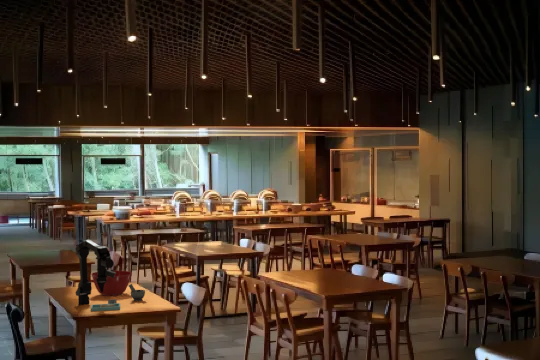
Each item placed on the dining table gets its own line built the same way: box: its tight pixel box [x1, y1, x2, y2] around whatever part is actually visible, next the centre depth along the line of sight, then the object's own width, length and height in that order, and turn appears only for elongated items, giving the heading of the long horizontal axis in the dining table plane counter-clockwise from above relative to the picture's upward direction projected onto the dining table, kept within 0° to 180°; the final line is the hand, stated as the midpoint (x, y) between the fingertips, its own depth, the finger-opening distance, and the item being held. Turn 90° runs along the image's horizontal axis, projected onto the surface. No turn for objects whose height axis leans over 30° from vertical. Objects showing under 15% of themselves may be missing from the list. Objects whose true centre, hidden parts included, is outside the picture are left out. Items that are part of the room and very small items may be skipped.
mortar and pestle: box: [128, 283, 146, 302], centre depth 481 cm, size 11×9×12 cm
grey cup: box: [107, 298, 118, 304], centre depth 464 cm, size 5×5×4 cm
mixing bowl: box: [90, 270, 133, 297], centre depth 508 cm, size 28×28×16 cm
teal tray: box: [90, 302, 121, 312], centre depth 454 cm, size 18×12×2 cm, turn 102°
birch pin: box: [100, 303, 115, 307], centre depth 454 cm, size 5×2×9 cm
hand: (102, 291), depth 453 cm, fingers open, 9 cm apart
